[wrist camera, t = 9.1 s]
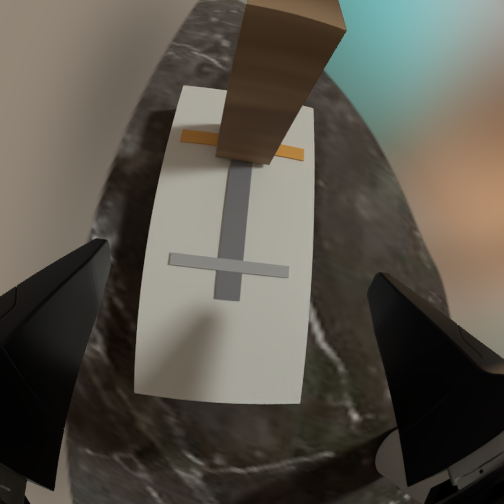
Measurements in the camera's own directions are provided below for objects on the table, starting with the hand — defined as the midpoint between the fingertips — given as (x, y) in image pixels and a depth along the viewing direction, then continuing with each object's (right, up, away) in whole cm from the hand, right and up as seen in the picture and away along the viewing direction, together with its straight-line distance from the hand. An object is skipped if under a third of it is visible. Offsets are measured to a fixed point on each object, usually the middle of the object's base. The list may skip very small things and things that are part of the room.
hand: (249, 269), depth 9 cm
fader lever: (0, +7, +7) cm, 9 cm away
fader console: (-1, +1, +8) cm, 9 cm away
